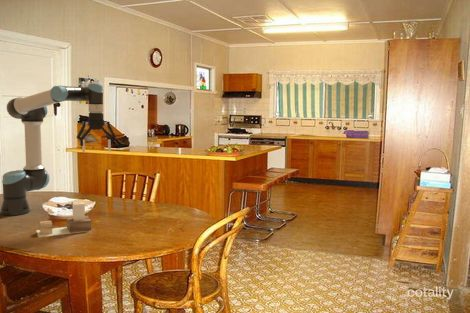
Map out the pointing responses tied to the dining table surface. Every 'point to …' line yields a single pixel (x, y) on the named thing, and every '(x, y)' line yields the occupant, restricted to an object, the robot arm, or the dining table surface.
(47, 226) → the oak cube
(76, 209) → the white block
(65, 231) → the build board
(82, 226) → the plinth
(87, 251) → the dining table surface
